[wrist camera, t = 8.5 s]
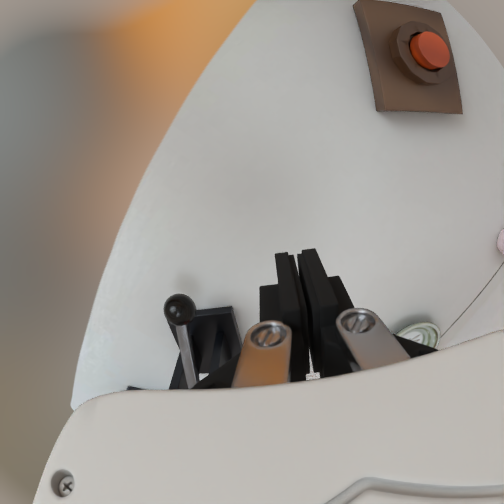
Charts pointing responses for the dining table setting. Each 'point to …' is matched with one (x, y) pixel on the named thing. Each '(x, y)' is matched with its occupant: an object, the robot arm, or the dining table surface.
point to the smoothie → (501, 242)
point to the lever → (183, 332)
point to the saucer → (422, 333)
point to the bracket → (209, 342)
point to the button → (429, 50)
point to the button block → (405, 59)
